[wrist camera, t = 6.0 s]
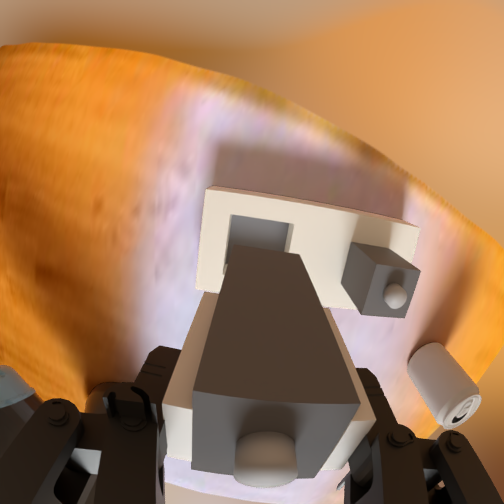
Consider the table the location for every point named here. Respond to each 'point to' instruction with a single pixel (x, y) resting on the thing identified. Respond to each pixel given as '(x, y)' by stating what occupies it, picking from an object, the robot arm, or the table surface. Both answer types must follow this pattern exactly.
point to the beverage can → (443, 385)
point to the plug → (269, 376)
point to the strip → (314, 247)
